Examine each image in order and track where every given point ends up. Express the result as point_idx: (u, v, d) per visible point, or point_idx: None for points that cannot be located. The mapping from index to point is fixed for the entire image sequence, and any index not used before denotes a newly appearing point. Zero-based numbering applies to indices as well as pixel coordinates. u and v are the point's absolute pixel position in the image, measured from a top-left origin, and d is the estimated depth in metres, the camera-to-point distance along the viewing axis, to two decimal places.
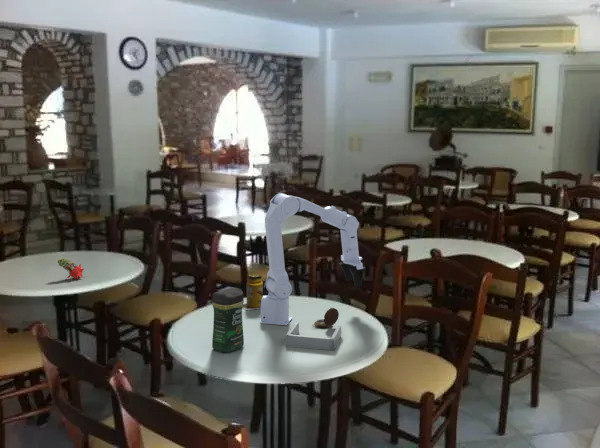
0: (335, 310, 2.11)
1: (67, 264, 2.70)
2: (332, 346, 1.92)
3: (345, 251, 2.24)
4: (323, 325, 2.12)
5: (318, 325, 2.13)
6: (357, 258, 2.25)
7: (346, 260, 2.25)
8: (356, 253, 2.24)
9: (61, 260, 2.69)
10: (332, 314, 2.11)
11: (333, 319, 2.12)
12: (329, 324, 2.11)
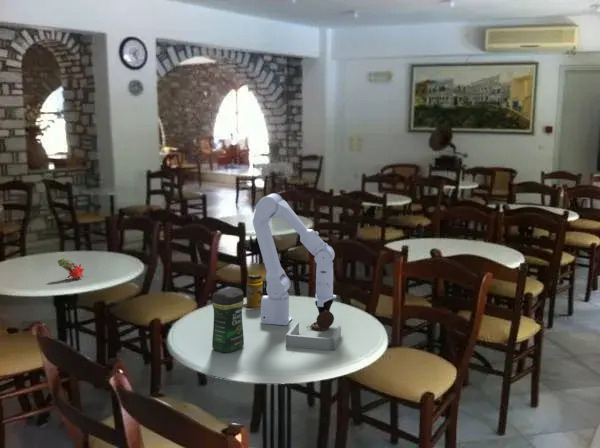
0: (329, 313, 2.08)
1: (67, 264, 2.70)
2: (332, 346, 1.92)
3: (316, 284, 2.12)
4: (317, 327, 2.10)
5: (313, 327, 2.11)
6: (327, 295, 2.11)
7: (316, 294, 2.13)
8: (326, 290, 2.10)
9: (61, 260, 2.69)
10: (325, 317, 2.07)
11: (327, 322, 2.08)
12: (322, 327, 2.08)
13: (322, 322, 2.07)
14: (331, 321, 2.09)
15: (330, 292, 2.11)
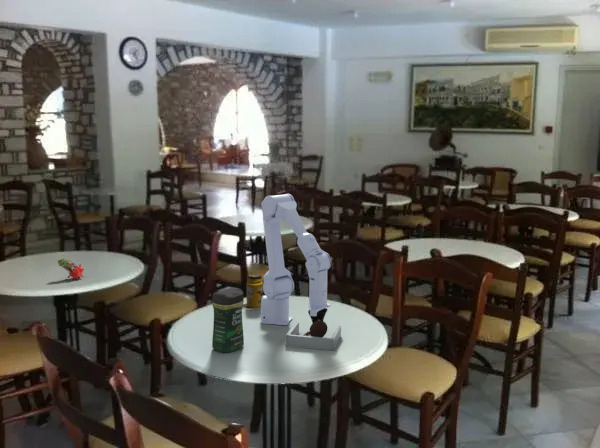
0: (322, 323, 1.98)
1: (67, 264, 2.70)
2: (332, 346, 1.92)
3: (309, 293, 2.02)
4: None
5: None
6: (320, 304, 2.01)
7: (309, 303, 2.03)
8: (319, 298, 2.01)
9: (61, 260, 2.69)
10: (319, 327, 1.98)
11: (320, 332, 1.99)
12: None
13: (315, 332, 1.98)
14: (324, 331, 1.99)
15: (324, 301, 2.01)
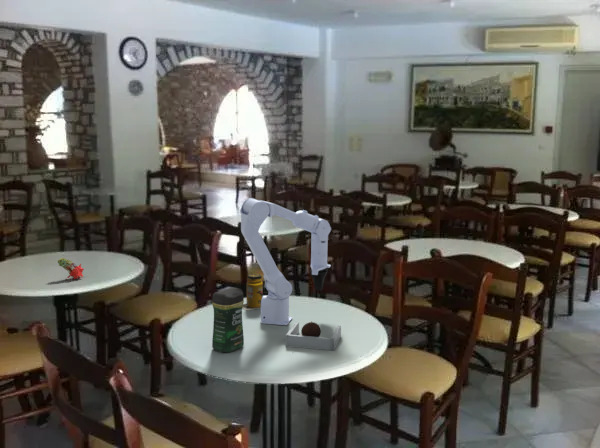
0: (315, 325, 1.96)
1: (67, 264, 2.70)
2: (332, 346, 1.92)
3: (311, 254, 2.21)
4: None
5: None
6: (321, 264, 2.20)
7: (311, 264, 2.22)
8: (320, 259, 2.19)
9: (61, 260, 2.69)
10: (310, 329, 1.96)
11: (313, 334, 1.97)
12: None
13: (307, 334, 1.96)
14: (317, 334, 1.97)
15: (324, 261, 2.20)
